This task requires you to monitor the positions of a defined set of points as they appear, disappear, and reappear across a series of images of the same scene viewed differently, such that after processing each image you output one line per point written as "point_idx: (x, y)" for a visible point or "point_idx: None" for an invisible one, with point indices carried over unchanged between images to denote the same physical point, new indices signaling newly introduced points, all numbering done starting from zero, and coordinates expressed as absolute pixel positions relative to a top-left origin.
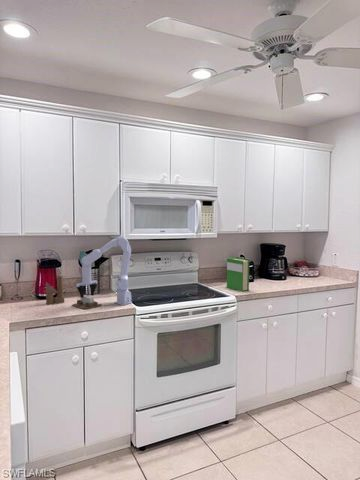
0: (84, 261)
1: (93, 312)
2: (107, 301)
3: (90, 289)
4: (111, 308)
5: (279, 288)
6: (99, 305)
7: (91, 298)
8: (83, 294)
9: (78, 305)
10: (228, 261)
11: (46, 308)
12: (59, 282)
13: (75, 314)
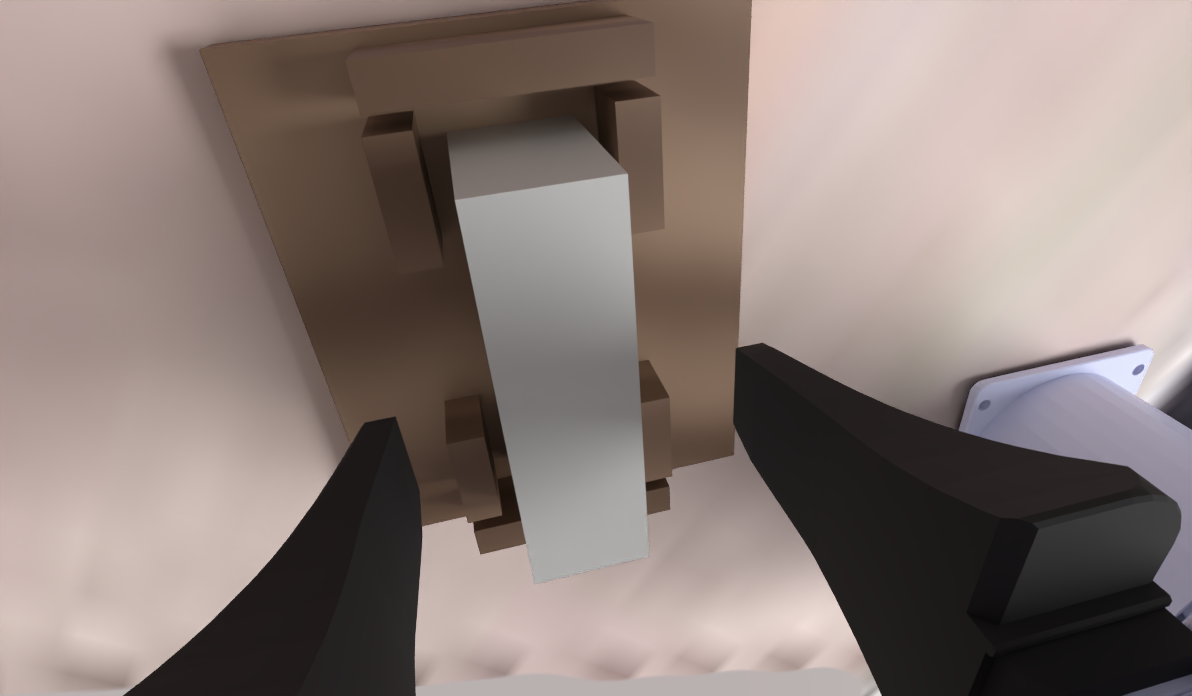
0: None
1: (430, 656)
2: (1003, 222)
3: (839, 431)
4: (726, 594)
5: None
6: (681, 460)
7: (579, 562)
8: (411, 589)
9: (318, 291)
10: None
11: None
12: None
13: (127, 653)
